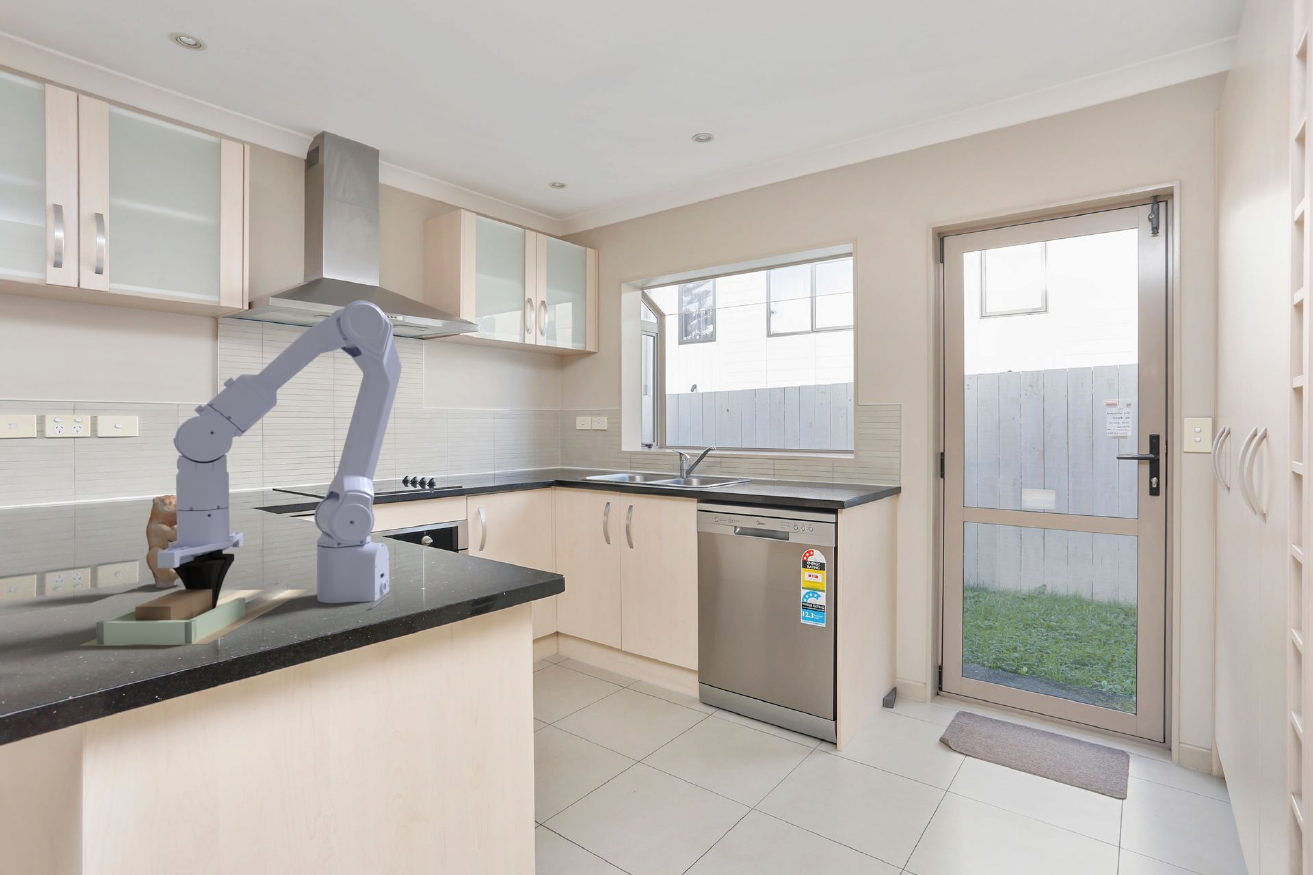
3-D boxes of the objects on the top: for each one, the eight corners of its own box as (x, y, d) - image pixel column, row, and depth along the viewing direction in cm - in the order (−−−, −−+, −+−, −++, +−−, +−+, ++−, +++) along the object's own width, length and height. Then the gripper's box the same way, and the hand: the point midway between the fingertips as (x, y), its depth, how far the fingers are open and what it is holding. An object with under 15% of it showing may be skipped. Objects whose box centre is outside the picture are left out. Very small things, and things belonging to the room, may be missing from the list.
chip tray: (245, 616, 87) (245, 597, 87) (191, 643, 76) (191, 621, 76) (162, 617, 87) (161, 598, 87) (96, 644, 76) (96, 622, 76)
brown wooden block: (212, 619, 86) (212, 589, 85) (192, 629, 82) (191, 597, 82) (180, 620, 85) (180, 589, 85) (158, 629, 81) (158, 597, 81)
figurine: (173, 596, 100) (172, 498, 100) (132, 594, 102) (131, 497, 102) (208, 587, 106) (207, 494, 106) (169, 584, 108) (168, 493, 108)
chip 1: (193, 629, 82) (192, 597, 82) (171, 640, 78) (170, 606, 78) (159, 629, 81) (159, 597, 81) (135, 640, 77) (135, 606, 77)
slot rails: (290, 589, 101) (290, 581, 101) (241, 614, 88) (240, 605, 88) (233, 589, 101) (233, 582, 101) (176, 614, 88) (175, 605, 88)
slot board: (308, 595, 101) (308, 589, 101) (206, 652, 76) (206, 643, 76) (214, 596, 101) (214, 590, 101) (79, 653, 76) (79, 645, 76)
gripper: (206, 501, 94) (207, 596, 94) (130, 516, 79) (132, 628, 80) (257, 501, 94) (258, 596, 94) (191, 515, 80) (192, 627, 80)
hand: (204, 611), depth 87 cm, fingers closed
